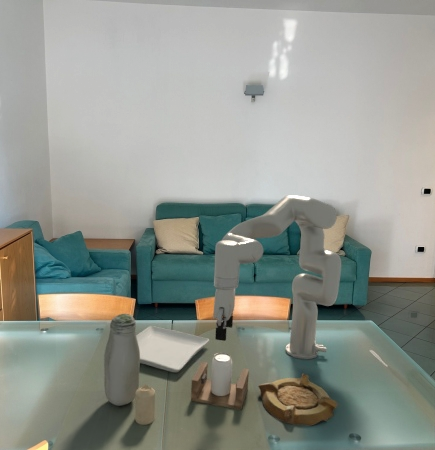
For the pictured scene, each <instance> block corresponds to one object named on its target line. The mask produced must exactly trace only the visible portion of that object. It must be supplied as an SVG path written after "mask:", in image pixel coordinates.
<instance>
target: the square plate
mask: <svg viewBox="0 0 435 450" xmlns="http://www.w3.org/2000/svg"><path fill="white" fill-rule="evenodd" d="M136 338H137V341H138V346H139V350H140V364H143V365H146V366H151V367H153V368H156V369H160V370H163V371H168V372H171V373H178V372H180V371H181V370H182V369H183V368H184V367H185V366H186V365H187V363H189V361H190V360H191V359H192V358H193V357H194V356H196V355H197V354H198V352H200V351H201V350H202V349H203V348H204V347H205V346H206V345H207V344H208V343H209V342H210V339H209V338H207V337H202V336H199V335H198V336H197V335H194V334H192V333H191V334H190V333H187V332H182V331H178V330H173V329H169V328H163V327H158V326H155V325H149V326H148V327H147V328H144V329H143V330H142V331H140V332H139V333H138V334H136Z"/></svg>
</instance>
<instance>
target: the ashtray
mask: <svg viewBox="0 0 435 450" xmlns="http://www.w3.org/2000/svg"><path fill="white" fill-rule="evenodd" d="M309 377H310V376H309V375H308V374H306V373H302V374H301V377H300V378H295V377H286V378H280V379H277V380H274V381H273V382H267V383H261V384H259V385H258V388H259V390H260V391H259V392H260V395H259V396H260V397H261V399H262V404H263V407H264V408H265V410H266V411H267V412H268V413H269V414H270V415H271V416H272V417H274V418H276V419H278V420H279V421H281V422H285V423H288V424H290V425H299V426H308V427H309V426H310V427H311V426H313V425H317V424H318V423H320V422H321V421H325V422H328V420H329V419H331V418H332V417H333V416H334V410H335V409H336V408H337V407H338V401H336V400H334V399H332V398H331V397H330V396H329V394H328V393H327V392H326V391H325V390H324V389H323V387H321V386H319V385H317V384H316V383H314V382H312V381H310V380H309V379H310V378H309Z"/></svg>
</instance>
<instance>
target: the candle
mask: <svg viewBox="0 0 435 450" xmlns="http://www.w3.org/2000/svg"><path fill="white" fill-rule="evenodd" d="M134 399H135V400H134V401H135V402H134V403H135V405H134V407H135V411H134V419H135V422H136V423H137V424H138V425H141V426H142V425H143V426H145V425H150V424H152V423H153V422H154V420H155V415H156V413H155V409H156V406H155V404H156V390H155V389H154V388H152V386H149V385H148V384H144V385H142V386H141V387H140V386H139V388H138V390H137V391H136V396H135V398H134Z"/></svg>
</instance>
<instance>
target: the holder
mask: <svg viewBox="0 0 435 450" xmlns="http://www.w3.org/2000/svg"><path fill="white" fill-rule="evenodd" d="M208 364H209V363H208V362H204V361H201V363H200V364H199V366H198V368H197V369H196V372H195V373H194V376H192V378H191V386H190V388H191V389H190V390H191V393H190V401H192V402H197V403H202V404H209V405H212V406H213V405H214V406H218V407H224V408H229V409H230V408H231V409H234V410H242V408H243V406H244V402H245V399H246V396H247V393H248V389H249V375H250V369H247V368H242V370H241V372H240V375H239V378H238V379H237V381H236V383H232V382H231V391H230V393H229V394H228V395H227V396H223V397H220V396H216V395H214V394H213V393H212V392H211V379H209V378H208Z"/></svg>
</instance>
